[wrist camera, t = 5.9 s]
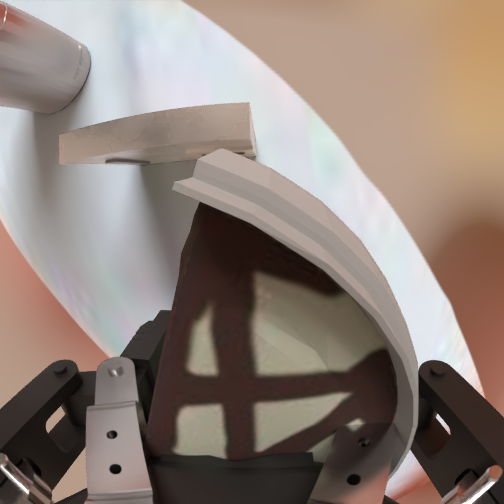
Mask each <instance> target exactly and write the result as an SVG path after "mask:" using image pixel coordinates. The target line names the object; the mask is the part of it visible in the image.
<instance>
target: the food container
mask: <svg viewBox="0 0 504 504" xmlns="http://www.w3.org/2000/svg"><path fill="white" fill-rule="evenodd" d="M172 190H174V191H176V192H179V193H181V194H183V195H186V196H188V197H191V198H193V199H195V200H198V201H200V203H199V205H198V208H197V210H196V212H195V215H194V218H193V222H192V226H191V230H190V233H189V236H188V238H187V241H186V243H185V245H184V248H183V250H182V253H181V262H180V272H179V278H178V283H177V287H176V292H175V297H174V301H173V306H172V310H171V314H170V318H169V322H168V327H167V331H166V335H165V340H164V344H163V349H162V353H161V358H160V362H159V367H158V372H157V377H156V383H155V388H154V393H153V399H152V404H151V409H150V415H149V420H148V425H147V430H146V436H145V444H146V447H147V451H148V456H149V458H152V457H161V455H162V454H169V455H211V456H214V457H218V458H221V459H225V460H229V461H234V462H239V461H245V460H251V459H256V458H261V457H266V456H270V455H274V454H292V453H305V452H313V459H314V461H316V462H323V463H325V460H326V458H327V455H328V452H329V450H330V447H331V444H332V442H333V439H334V436H335V433H336V430H337V427H341V426H346V425H358V424H366V423H393V422H394V424H395V426H396V434H395V441H394V448H393V454H392V460H391V466H390V471H389V476H388V480H389V479H390V478H391V477H392V476H393V475H394V474H395V472H396V471H397V470H398V468H399V467H400V465H401V464H402V462H403V460H404V459H405V457H406V455H407V454H408V452H409V450H410V448H411V445H412V442H413V438H414V435H415V432H416V429H417V425H418V362H417V358H416V354H415V351H414V347H413V344H412V341H411V337H410V334H409V331H408V328H407V324H406V322H405V320H404V317H403V315H402V313H401V310H400V308H399V306H398V303H397V301H396V299H395V297H394V295H393V292H392V290H391V288H390V286H389V284H388V282H387V280H386V278H385V276H384V275H383V273H382V272H381V270H380V268H379V267H378V265H377V264H376V262H375V261H374V259H373V258H372V256H371V255H370V253H369V252H368V250H367V249H366V247H365V246H364V244H363V243H362V241H361V240H360V239H359V238H358V237H357V236H356V235H355V234H354V233H353V232H352V231H351V230H350V229H349V228H348V227H347V226H346V225H345V224H344V223H343V222H342V221H341V220H340V219H339V218H338V217H337V216H336V215H335V214H334V213H333V212H332V211H331V210H330V209H329V208H328V207H327V206H326V205H325V204H324V203H323V202H322V201H321V200H319V199H318V198H316V197H315V196H313V195H312V194H310V193H309V192H307V191H306V190H304V189H303V188H301V187H300V186H298V185H297V184H295V183H294V182H292V181H291V180H289V179H287V178H286V177H284V176H283V175H281V174H280V173H278V172H276V171H275V170H273V169H272V168H269V167H267V166H265V165H262V164H260V163H258V162H255V161H253V160H250V159H248V158H246V157H243V156H241V155H238V154H236V153H233V152H231V151H228V150H225V149H223V148H221V149H219V150H216V151H214V152H212V153H210V154H207V155H205V156H203V157H201V158H199V159H197V162H196V166H195V169H194V172H193V176H192V177H191V178H187V179H183V180H179V181H175V182H174V185H173V188H172Z"/></svg>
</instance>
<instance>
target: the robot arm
mask: <svg viewBox="0 0 504 504" xmlns="http://www.w3.org/2000/svg"><path fill="white" fill-rule="evenodd" d="M89 68H90V54H89V51H88V49H87V47H86V46H84V45H83V44H82V43H80V42H78V41H77V40H75V39H73V38H72V37H70V36H68V35H66V34H65V33H63V32H61V31H60V30H58V29H56V28H54V27H52V26H51V25H49V24H47V23H45V22H43V21H41V20H39V19H38V18H36V17H34V16H32V15H30V14H28V13H26V12H24V11H22V10H20V9H18V8H15V7H13V6H11V5H9V4H7V3H5V2H2V1H0V106H4V107H11V108H17V109H23V110H29V111H35V112H41V113H46V114H51V113H55V112H58V111H60V110H61V109H63V108H65V107H66V106H67V105H68V104H69V103H70V102H71V101H72V100H73V99H74V98H75V97H76V96H77V94H78V93H79V91H80V90H81V88H82V86H83V84H84V82H85V80H86V78H87V75H88V72H89ZM170 314H171V310H160V312H159V313H158V315H157V316H156V318H155V319H154V321H148V322H147V323H145V324H144V325H142V326H141V327H140V328H139V329H138V331H137V332H136V335H134V337H133V338H132V340H131V341H130V342H129V344H128V345H127V347H126V348H125V350H124V351H123V352H122V354H121V355H120V357H113V358H109V359H107V360H105V361H103V362H102V363H101V364H100V365H99V366H98V368H97V371H87V372H79V370H78V367H77V365H76V363H75V362H73V361H71V360H59V361H56V362H54V363H52V364H51V365H49V366H48V367H47V368H46V369H45V370H44V371H42V372H41V373H40V374H39V375H38V376H37V377H35V378H34V379H33V380H32V381H31V382H30V383H29V384H27V385H26V386H25V387H24V388H23V389H22V390H21V391H20V392H18V393H17V395H15V396H14V397H13V398H12V399H11V400H10V401H9V402H8V403H6V404H5V405H4V406H3V407H2V408H1V409H0V504H399V503H397V502H396V501H394V500H392V499H391V498H389V497H388V496H386V495H384V494H385V490H386V485H387V481H388V476H389V471H390V466H391V460H392V454H393V448H394V441H395V434H396V426H395V424H394V422H393V423H366V424H358V425H346V426H341V427H337V430H336V433H335V436H334V439H333V442H332V444H331V447H330V450H329V452H328V455H327V458H326V460H325V463H323V462H316V461H314V459H313V452H305V453H292V454H274V455H270V456H266V457H261V458H256V459H251V460H245V461H239V462H234V461H229V460H225V459H221V458H218V457H214V456H211V455H169V454H162V455H161V457H152V458H149V456H148V451H147V447H146V444H145V436H146V430H147V425H148V420H149V415H150V409H151V404H152V399H153V393H154V388H155V383H156V377H157V372H158V367H159V362H160V358H161V353H162V349H163V344H164V340H165V335H166V331H167V327H168V322H169V318H170ZM60 406H61V407H62V409H63V411H64V412H65V415H64V417H63V418H62V419H61V420H60V421H59V422H58V423H57V424H56V425H55V426H54V428H53V429H52V430H51V431H50V432H49V433H47V431H46V422H47V420H48V419H49V418H50V416H51V415H52V414H53V413H54V412H55V411H56V410H57V409H58V408H59V407H60ZM437 414H439V415H440V417H441V418H442V419H443V420H444V421H445V423H446V424H447V425H448V426H449V428H450V433H451V434H450V435H449V433H448V432H447V431H446V430H445V428H444V427H443V426H442V425H441V423H440V422H439V421H438V420H437V419H436V416H437ZM85 447H86V473H87V488H85V489H83V490H81V491H79V492H77V493H75V494H73V495H71V496H69V497H67V498H65V499H63V500H61V501H58V502H56V503H54V502H53V501H52V490H53V489H54V488H55V486H56V485H57V484H58V482H59V481H60V480H61V478H62V477H63V476H64V474H65V473H66V472H67V470H68V469H69V468H70V466H71V465H72V464H73V462H74V461H75V460H76V459H77V457H78V456H79V455H80V453H81V452H82V451H83V449H84V448H85ZM410 450H411V451H412V453H413V454H414V456H415V457H416V459H417V460H418V462H419V463H420V465H421V466H422V468H423V469H424V471H425V472H426V474H427V475H428V477H429V478H430V480H431V481H432V483H433V484H434V486H435V487H436V489H437V491H438V492H439V494H440V495H441V497H442V498H443V499H442V501H441V504H504V417H503V416H502V415H501V414H500V413H499V412H498V411H497V410H496V409H495V408H494V407H493V406H492V405H491V404H490V403H489V402H488V401H487V400H486V399H485V398H484V397H483V396H482V395H481V394H480V393H478V392H477V391H476V390H475V389H474V388H473V387H472V386H471V385H470V384H469V383H468V382H467V381H466V380H465V379H464V378H463V377H462V376H461V375H460V374H458V373H457V372H456V371H455V370H454V369H453V368H452V367H451V366H450V365H448V364H447V363H445V362H442V361H438V360H430V361H426V362H424V363H423V364H422V365H421V366H420V368H419V370H418V425H417V429H416V432H415V435H414V438H413V442H412V445H411V448H410Z"/></svg>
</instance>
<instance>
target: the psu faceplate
mask: <svg viewBox="0 0 504 504" xmlns="http://www.w3.org/2000/svg"><path fill="white" fill-rule="evenodd" d="M221 148H223V149H225V150H228V151H231V152H233V153H236V154H238V155H241V156H243V157H253V156H256V138H255V131H254V126H253V120H252V114H251V109H250V103H249V102H248V103H228V104H215V105H204V106H194V107H185V108H178V109H170V110H164V111H157V112H151V113H146V114H140V115H135V116H130V117H125V118H120V119H116V120H111V121H107V122H103V123H99V124H95V125H91V126H87V127H84V128H80V129H77V130H73V131H70V132H67V133H63V134H60V135H59V165H62V164H113V165H146V164H155V163H164V162H173V161H184V160H196V159H199V158H201V157H203V156H205V155H207V154H210V153H212V152H214V151H216V150H219V149H221Z"/></svg>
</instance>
